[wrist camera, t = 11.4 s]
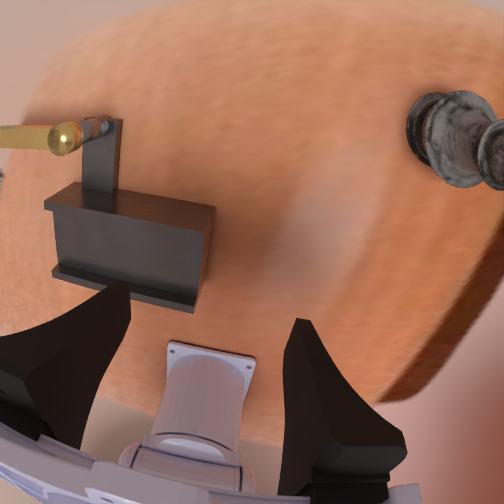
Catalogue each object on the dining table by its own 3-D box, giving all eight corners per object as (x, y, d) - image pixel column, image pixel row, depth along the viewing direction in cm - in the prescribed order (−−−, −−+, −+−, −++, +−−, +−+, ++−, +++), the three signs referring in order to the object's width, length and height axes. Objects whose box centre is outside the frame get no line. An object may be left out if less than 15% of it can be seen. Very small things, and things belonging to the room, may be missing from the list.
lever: (-20, 147, 16) (-39, 154, 14) (-21, 122, 15) (-40, 129, 13) (83, 152, 16) (64, 160, 14) (84, 121, 15) (64, 126, 13)
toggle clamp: (204, 280, 24) (193, 313, 21) (77, 251, 24) (52, 277, 21) (228, 130, 19) (217, 140, 16) (76, 113, 19) (43, 121, 15)
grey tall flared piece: (385, 117, 18) (501, 160, 7) (447, 73, 16) (582, 85, 5) (428, 188, 20) (534, 282, 9) (484, 144, 18) (606, 207, 7)
